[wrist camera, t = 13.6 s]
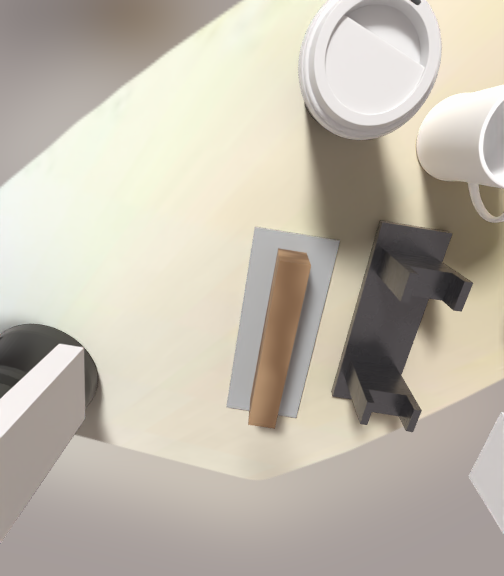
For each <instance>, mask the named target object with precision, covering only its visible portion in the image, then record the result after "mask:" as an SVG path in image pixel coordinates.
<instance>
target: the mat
mask: <svg viewBox="0 0 504 576" xmlns="http://www.w3.org/2000/svg"><path fill="white" fill-rule="evenodd" d="M339 243H340V241H339V240H335V239H328V238H322V237H316V236H310V235H304V234H297V233H291V232H285V231H279V230H273V229H266V228H260V227H255V230H254V236H253V243H252V249H251V255H250V262H249V268H248V274H247V281H246V287H245V293H244V300H243V306H242V312H241V319H240V325H239V331H238V338H237V344H236V350H235V357H234V363H233V369H232V376H231V382H230V388H229V395H228V401H227V407H229V408H236V409H242V410H249V408H250V397H251V392H252V386H253V381H254V376H255V370H256V365H257V360H258V354H259V349H260V343H261V338H262V333H263V327H264V322H265V316H266V311H267V306H268V300H269V295H270V290H271V284H272V279H273V273H274V268H275V263H276V257H277V252H278V248H280V249H286V250H292V251H298V252H304V253H307V255H308V258H309V261H310V264H311V269H310V273H309V278H308V282H307V287H306V291H305V296H304V300H303V305H302V309H301V313H300V318H299V322H298V327H297V331H296V336H295V340H294V345H293V349H292V354H291V358H290V362H289V367H288V371H287V376H286V380H285V385H284V389H283V394H282V398H281V403H280V407H279V412H278V415H281V416H288V417H294V418H296V416H297V412H298V408H299V404H300V400H301V396H302V392H303V388H304V384H305V380H306V376H307V372H308V368H309V364H310V360H311V355H312V351H313V347H314V343H315V339H316V335H317V331H318V327H319V323H320V319H321V315H322V311H323V307H324V303H325V299H326V295H327V291H328V287H329V283H330V279H331V275H332V271H333V267H334V263H335V259H336V255H337V251H338V247H339Z"/></svg>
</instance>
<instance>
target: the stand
mask: <svg viewBox="0 0 504 576" xmlns="http://www.w3.org/2000/svg"><path fill="white" fill-rule="evenodd" d="M451 236H452V233H450V232H448V231H442V230H436V229H429V228H423V227H417V226H411V225H405V224H399V223H393V222H386V221H380V222H379V225H378V229H377V232H376V236H375V240H374V243H373V247H372V250H371V254H370V257H369V261H368V264H367V268H366V271H365V275H364V278H363V282H362V285H361V289H360V292H359V296H358V300H357V303H356V307H355V310H354V314H353V317H352V321H351V324H350V328H349V331H348V335H347V338H346V342H345V345H344V349H343V352H342V356H341V360H340V363H339V367H338V370H337V374H336V377H335V381H334V384H333V388H332V391H331V392H332V396H334V397H341V398H347V399H352V401H353V404H354V407H355V410H356V413H357V416H358V419H359V422H360V424H364V425H367V424H368V421H369V418H370V415H371V412H375V413H382V414H388V415H395V416H399V418H400V420H401V422H402V424H403V426H404V428H405V430H406V431H410V432H413V431H414V428H415V426H416V423H417V421H418V418H419V416H420V413H421V411H422V410H421V409H420V407H419V405H418V404H417V402H416V400H415V398H414V397H413V395H412V393H411V391H410V390H409V388H408V386H407V385H406V383H405V381H404V379H403V378H402V376H401V375H402V372H403V369H404V366H405V363H406V361H407V358H408V355H409V352H410V350H411V347H412V344H413V341H414V339H415V336H416V333H417V330H418V328H419V325H420V322H421V319H422V316H423V314H424V311H425V308H426V305H427V303H428V300H429V298H430V299H436V300H442V301H443V302H445V303H446V304H447V305H448V306H449V307H450V308H451V309H453V310H455V311H461V312H462V309H463V307H464V304H465V302H466V299H467V297H468V294H469V292H470V289H471V287H472V284H473V282H471V281H470V280H468V279H467V278H465V277H464V276H462V275H461V274H459V273H458V272H456V271H454V270H453V269H451V268H450V267H448V266H447V265H445V264H444V263H442V261H443V258H444V256H445V253H446V250H447V247H448V245H449V242H450V239H451Z"/></svg>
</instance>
